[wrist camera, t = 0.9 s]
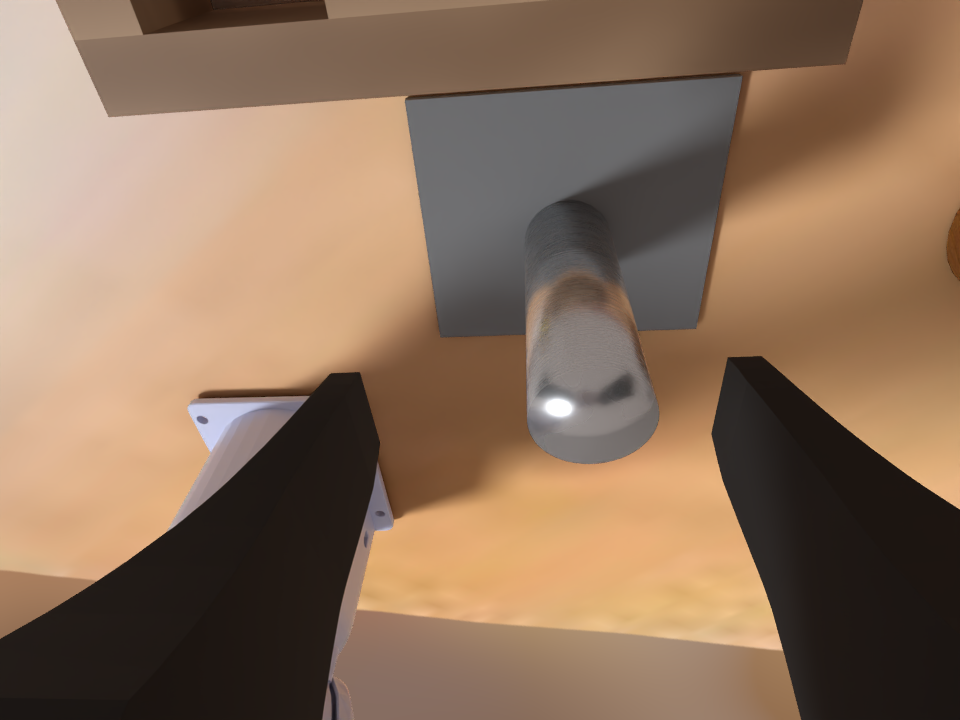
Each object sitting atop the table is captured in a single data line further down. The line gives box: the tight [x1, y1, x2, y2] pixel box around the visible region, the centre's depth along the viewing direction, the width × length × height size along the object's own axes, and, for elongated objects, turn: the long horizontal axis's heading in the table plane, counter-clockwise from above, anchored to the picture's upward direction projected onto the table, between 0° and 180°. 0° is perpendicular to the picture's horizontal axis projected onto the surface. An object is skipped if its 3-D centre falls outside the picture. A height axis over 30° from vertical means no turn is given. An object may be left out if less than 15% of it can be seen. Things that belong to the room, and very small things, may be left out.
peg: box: [524, 200, 659, 464], centre depth 17 cm, size 3×3×9 cm
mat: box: [405, 74, 743, 337], centre depth 20 cm, size 9×10×1 cm
